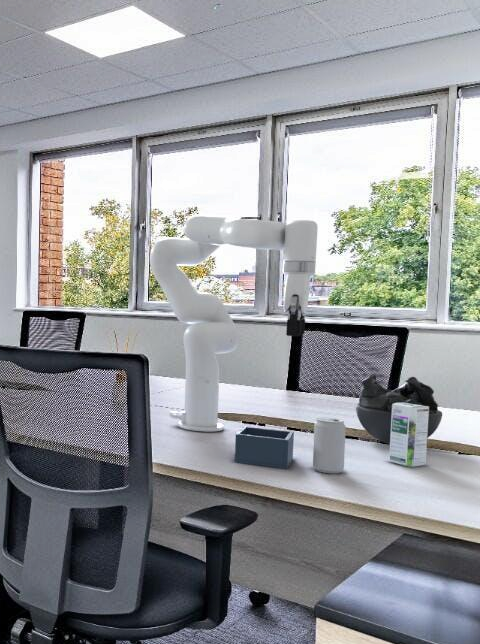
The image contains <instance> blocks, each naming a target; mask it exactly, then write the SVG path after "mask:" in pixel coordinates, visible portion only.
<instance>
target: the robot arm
mask: <svg viewBox="0 0 480 644" xmlns="http://www.w3.org/2000/svg"><path fill="white" fill-rule="evenodd" d="M183 233H184V236H185V237H186V238H184V237H183V238H182V237H163V238H160V239H158V240H157V241H156V242H154V244H153V245H152V247H151V250H150V254H149V266H150V269H151V273H152V275H153V276H154V278H155V280H156V281H157V282H158V285H159V286H160V288H161V289H162V292H163V293H164V295H165V298H166V300H167V303H169V305H170V307H171V310H172V312H173V313H174V316H175V317H176V319H177V320H178V321H179V322H180V323H182V324H190V325H189V326H188V327H187V328H186V329H185V331H184V333H183V337H182V338H183V339H182V340H183V348H184V355H185V383H184V384H185V385H184V388H185V389H184V410H182V411H180V412H178V411H172V410H171V411H170V413H169V418H171V419H176V420H180V421H179V422H178V427H179V428H181V429H184V430H187V431H192V432H193V431H194V432H202V433H203V432H205V433H206V432H208V433H209V432H210V433H212V432H213V433H214V432H221V431H223V430H224V425H223V424H222V423H219V395H220V365H219V362H218V359H217V356H216V355H219V354H227V353H228V354H229V353H231V352H233V351H235V350H236V349H237V347H239V346H238V345H239V342H240V334H239V331H238V328H237V326H236V324H235V322H234V320H233V319H232V317H231V315H230V314H229V312H228V310H227V308H226V306H225V304H224V303H223V301H222V300H221V299H220V297H218V296H217V295H215V294H214V293H210V292H199V291H197V290H196V289H195V287H194V285H193V283H192V282H191V280H190V278H189V276H188V275H187V274H186V273H185V272H184V271H183V270H182V269H181V268H179V266H182V267H184V266H185V267H187V266H188V267H194V266H197V265H199V264H202V262H204V261H205V260H206V259H208V258H209V257H210V256H211V255H212V254H213V253H215V251H217V250H218V249H219V248H220V247H221V246H222V247H239V248H245V249H246V248H247V249H255V250H269V251H270V250H271V251H283V265H282V268H283V269H282V275H286V278H285V285H284V297H283V308H282V310H283V312H284V313H288V314H287V320H286V332H285V333H286V334H285V335H286V336H288V337H300V336H301V335H304V334H305V331H306V312H307V311H308V305H309V296H310V282H311V281H310V279H311V276H314V275H316V265H317V263H316V262H317V246H318V245H317V244H318V224H317V222H316V221H314V220H308V219H306V220H305V219H298V220H291V221H288V222H284V221H275V220H265V219H249V218H239V217H237V216H234V215H219V214H218V215H217V214H207V213H206V214H205V213H199V214H194V215H191V216H190V217H188V218H187V219H186V220H185V222H184V224H183Z"/></svg>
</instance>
